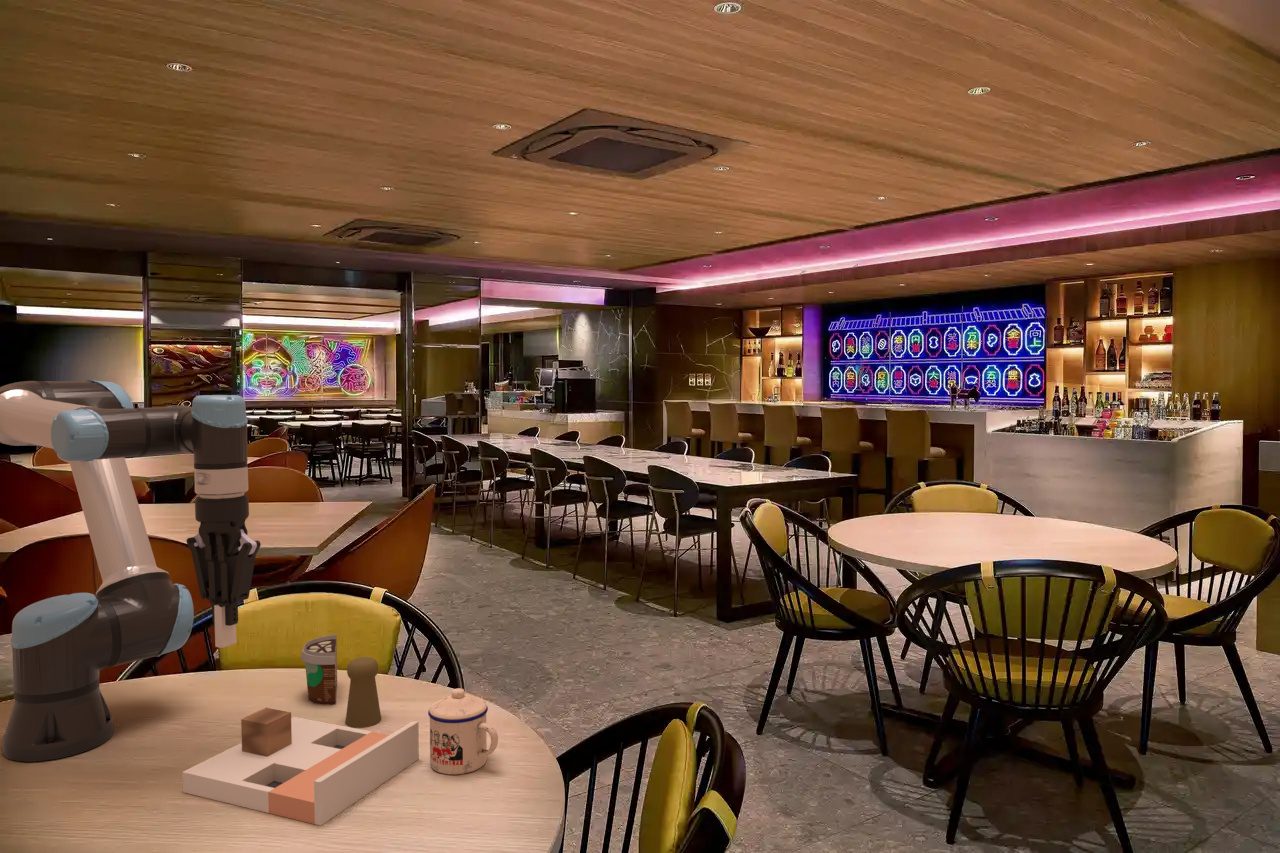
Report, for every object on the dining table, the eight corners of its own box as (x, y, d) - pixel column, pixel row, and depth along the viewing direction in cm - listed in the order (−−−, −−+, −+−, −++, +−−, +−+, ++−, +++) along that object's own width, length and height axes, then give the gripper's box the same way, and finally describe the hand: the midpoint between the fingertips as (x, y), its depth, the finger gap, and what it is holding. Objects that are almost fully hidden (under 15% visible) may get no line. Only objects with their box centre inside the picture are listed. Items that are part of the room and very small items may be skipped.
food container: (303, 687, 169) (302, 636, 169) (337, 684, 171) (336, 633, 171) (299, 711, 158) (298, 656, 157) (335, 707, 160) (334, 653, 159)
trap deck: (182, 792, 127) (181, 751, 127) (294, 734, 148) (293, 699, 147) (320, 825, 118) (319, 782, 118) (418, 759, 139) (418, 721, 138)
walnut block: (241, 751, 134) (241, 719, 134) (266, 738, 139) (266, 707, 138) (267, 756, 132) (266, 724, 132) (291, 743, 137) (291, 712, 137)
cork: (370, 729, 150) (369, 666, 149) (338, 726, 151) (337, 663, 150) (387, 715, 156) (386, 654, 155) (356, 712, 157) (355, 652, 156)
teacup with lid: (416, 768, 135) (415, 694, 135) (455, 746, 143) (454, 676, 143) (477, 786, 130) (477, 708, 129) (514, 762, 138) (514, 689, 137)
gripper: (170, 495, 135) (174, 646, 136) (234, 500, 130) (238, 656, 131) (210, 489, 142) (214, 633, 143) (273, 493, 137) (276, 642, 138)
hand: (226, 644), depth 137 cm, fingers closed
